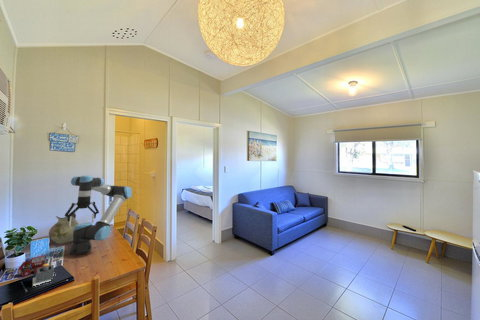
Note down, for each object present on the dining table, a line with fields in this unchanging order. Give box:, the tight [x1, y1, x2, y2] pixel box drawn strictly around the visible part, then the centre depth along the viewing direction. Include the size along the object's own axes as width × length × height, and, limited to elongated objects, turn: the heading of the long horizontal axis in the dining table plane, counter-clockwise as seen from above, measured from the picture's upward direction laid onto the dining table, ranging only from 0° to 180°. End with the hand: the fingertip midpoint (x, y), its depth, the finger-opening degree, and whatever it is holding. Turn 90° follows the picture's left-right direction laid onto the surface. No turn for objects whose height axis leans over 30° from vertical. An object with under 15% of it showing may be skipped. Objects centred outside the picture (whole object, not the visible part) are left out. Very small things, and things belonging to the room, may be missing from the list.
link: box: [35, 264, 55, 284], centre depth 121 cm, size 8×8×6 cm
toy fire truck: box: [17, 254, 47, 278], centre depth 128 cm, size 7×12×10 cm, turn 138°
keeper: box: [32, 262, 51, 287], centre depth 121 cm, size 10×10×10 cm
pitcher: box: [48, 212, 80, 245], centre depth 181 cm, size 22×24×25 cm
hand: (81, 224), depth 145 cm, fingers open, 13 cm apart
